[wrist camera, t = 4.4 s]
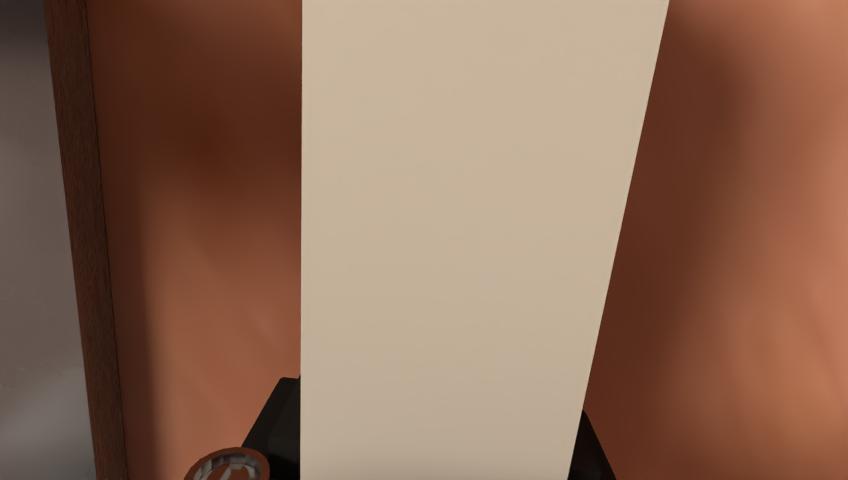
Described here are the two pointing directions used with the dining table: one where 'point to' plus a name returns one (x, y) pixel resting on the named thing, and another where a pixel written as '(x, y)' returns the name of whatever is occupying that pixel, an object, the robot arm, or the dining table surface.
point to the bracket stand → (53, 256)
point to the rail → (461, 227)
